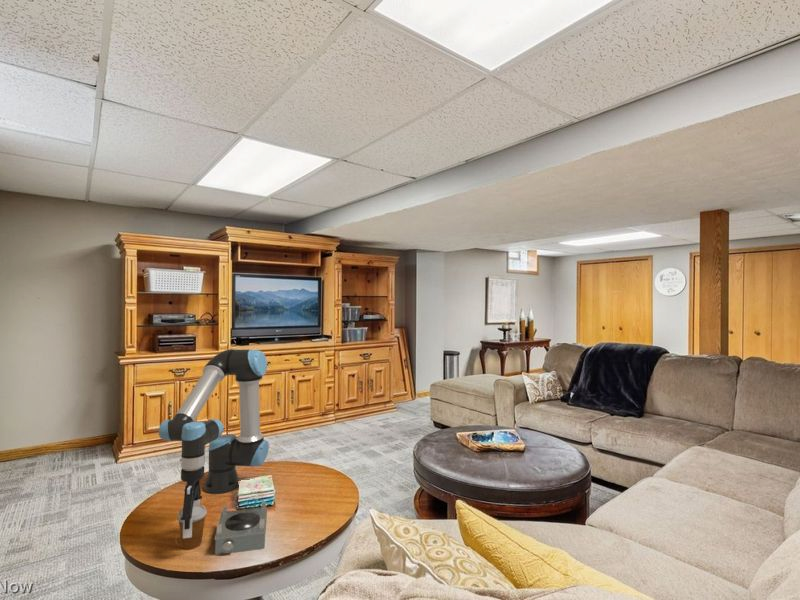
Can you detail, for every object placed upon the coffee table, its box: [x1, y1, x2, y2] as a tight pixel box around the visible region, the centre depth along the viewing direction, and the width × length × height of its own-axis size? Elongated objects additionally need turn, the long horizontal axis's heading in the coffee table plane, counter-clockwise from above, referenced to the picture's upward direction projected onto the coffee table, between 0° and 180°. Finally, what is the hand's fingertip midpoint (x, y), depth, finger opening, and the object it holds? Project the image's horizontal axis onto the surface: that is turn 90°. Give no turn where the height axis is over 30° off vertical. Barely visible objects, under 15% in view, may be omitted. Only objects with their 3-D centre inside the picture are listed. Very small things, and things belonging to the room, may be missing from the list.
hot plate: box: [214, 501, 268, 556], centre depth 156 cm, size 20×17×9 cm
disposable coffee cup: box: [176, 504, 208, 550], centre depth 152 cm, size 10×10×12 cm
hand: (191, 527), depth 151 cm, fingers open, 13 cm apart
